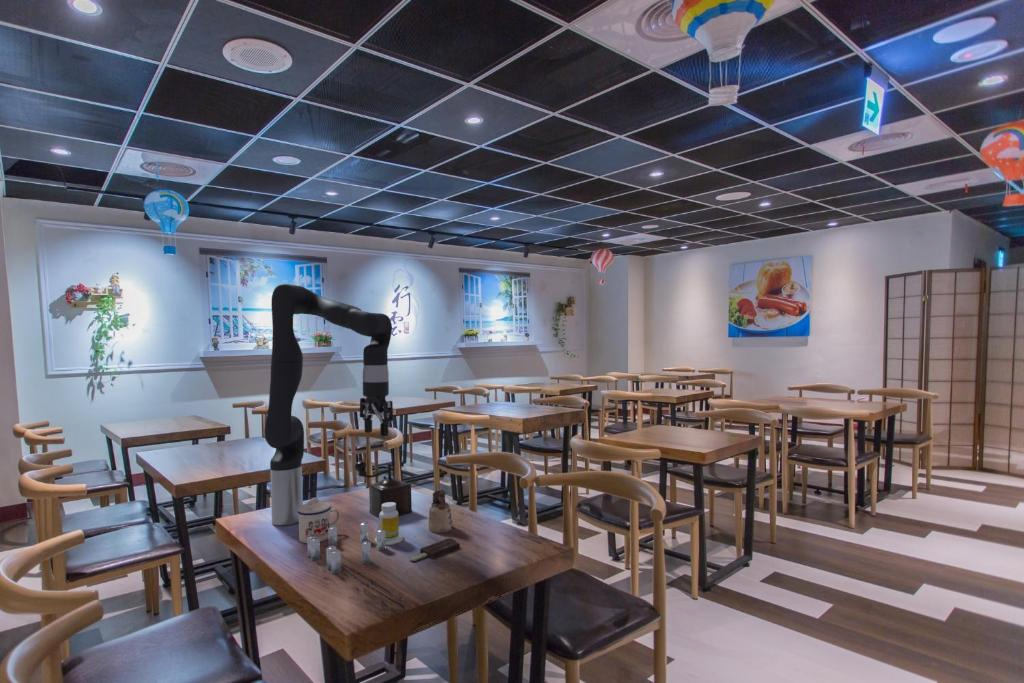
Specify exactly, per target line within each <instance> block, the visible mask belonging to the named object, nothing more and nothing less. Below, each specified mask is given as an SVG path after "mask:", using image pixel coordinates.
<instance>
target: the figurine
mask: <svg viewBox="0 0 1024 683" xmlns="http://www.w3.org/2000/svg"><path fill="white" fill-rule="evenodd" d="M451 509H452V508H451V506H450V504H449V503H448V502H446V490H444V489H443V488H438V489H436V490H434V492H432V502H431V506H430V507H429V511H428V512H429V513H428V514H429V515H428V530H429V532H432V533H436V534H441V533H448V532H450V531H452V529H453V518H452V517H453V516H452V511H451Z"/></svg>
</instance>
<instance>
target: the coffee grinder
mask: <svg viewBox="0 0 1024 683" xmlns="http://www.w3.org/2000/svg"><path fill="white" fill-rule="evenodd" d="M353 466H354V470H355V471H357V472H358V477H363V478H366V479H371V478H376V477H379V476H381V475H383V474H386V473H388V476H387V477H386V476H385V475H384V476H383V479H382V480H380V481H377V482H376V483H371V484H369V487H368V491H369V492H368V493H369V494H368V495H369V496H368V497H369V510H368V512H369V513H370V514H371V515H373V516H375V517H376V518H378V519H379V514H380V512H381V511H382V509H381V508H382V504H383V503H387V502H394V503H396V509H395V510H397V511H398V517H401V516H405V515H407V514H411V513H412V512H413V510H412V508H413V505H412V504H413V503H412V485H411V484H410V483H408V482H405V481H403V480H400V479H397V478H394V477H392V470H393V468H392V463H391V462H388V463H387V467H386V469H384V470H382V471H379V472H376V473H373V474H370V475H367V473H368V472H367V471H366V468H367V463H366V461H364V460H359V461H356V463H354V465H353Z"/></svg>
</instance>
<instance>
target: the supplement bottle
mask: <svg viewBox="0 0 1024 683" xmlns="http://www.w3.org/2000/svg"><path fill="white" fill-rule="evenodd" d="M381 509H382V511H381V512H380V514H379V518H378V519H379V520H378V524H379V527H378V530H379V529H385V530H386V541H391V540H394V539H396V538H398V536H399V533H400V530H399V516H398V511H397V510H395V509H396V503H394V502H387V503H383V504H382V508H381Z"/></svg>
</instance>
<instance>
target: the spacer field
mask: <svg viewBox="0 0 1024 683" xmlns="http://www.w3.org/2000/svg"><path fill="white" fill-rule="evenodd" d="M375 533H376V537H377V544H376V550H377V551H385V550H386V549H387V545H386V530H385V529H379V528H378V529H377V530H376V532H375ZM369 537H370V536H369V522H368V521H363V522H360V523H359V542H360V547H361V549H360V550H361V564H363V565H367V564H368V565H369V564H371V563H372V542H371V541H370V538H369ZM327 542H328V543H327V546H326V548H325V551H326V554H325V555H326V556H325V557H326V569H327V570H330V574H333V575H337V574H339V573H341V572H342V556H341V554H342V551H341V550H340V549H337V546H338V526H337V525H334V526H331V527H328V539H327ZM306 544H307V545H306V546H307V557H308V558H310V560H311V561H316V560H319V559H321V542H320V538H317V536H316V535H311V536H308V537H307V543H306Z"/></svg>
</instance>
